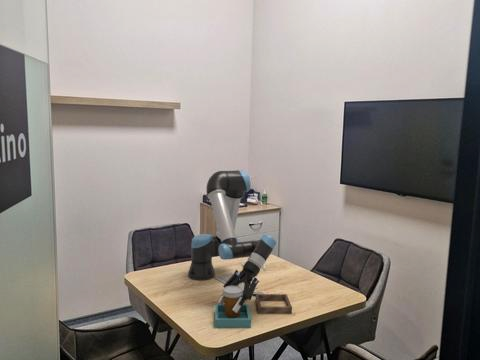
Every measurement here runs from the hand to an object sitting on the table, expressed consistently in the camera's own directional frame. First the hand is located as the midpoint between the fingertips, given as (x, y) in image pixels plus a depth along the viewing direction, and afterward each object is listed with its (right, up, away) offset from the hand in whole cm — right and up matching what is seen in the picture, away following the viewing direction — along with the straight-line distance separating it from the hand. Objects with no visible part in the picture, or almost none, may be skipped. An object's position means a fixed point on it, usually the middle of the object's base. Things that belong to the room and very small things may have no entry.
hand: (227, 307), depth 181 cm
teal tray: (+2, -6, +3) cm, 7 cm away
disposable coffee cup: (+2, -4, +3) cm, 6 cm away
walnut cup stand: (+22, -5, +17) cm, 28 cm away
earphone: (+15, +2, +73) cm, 75 cm away
